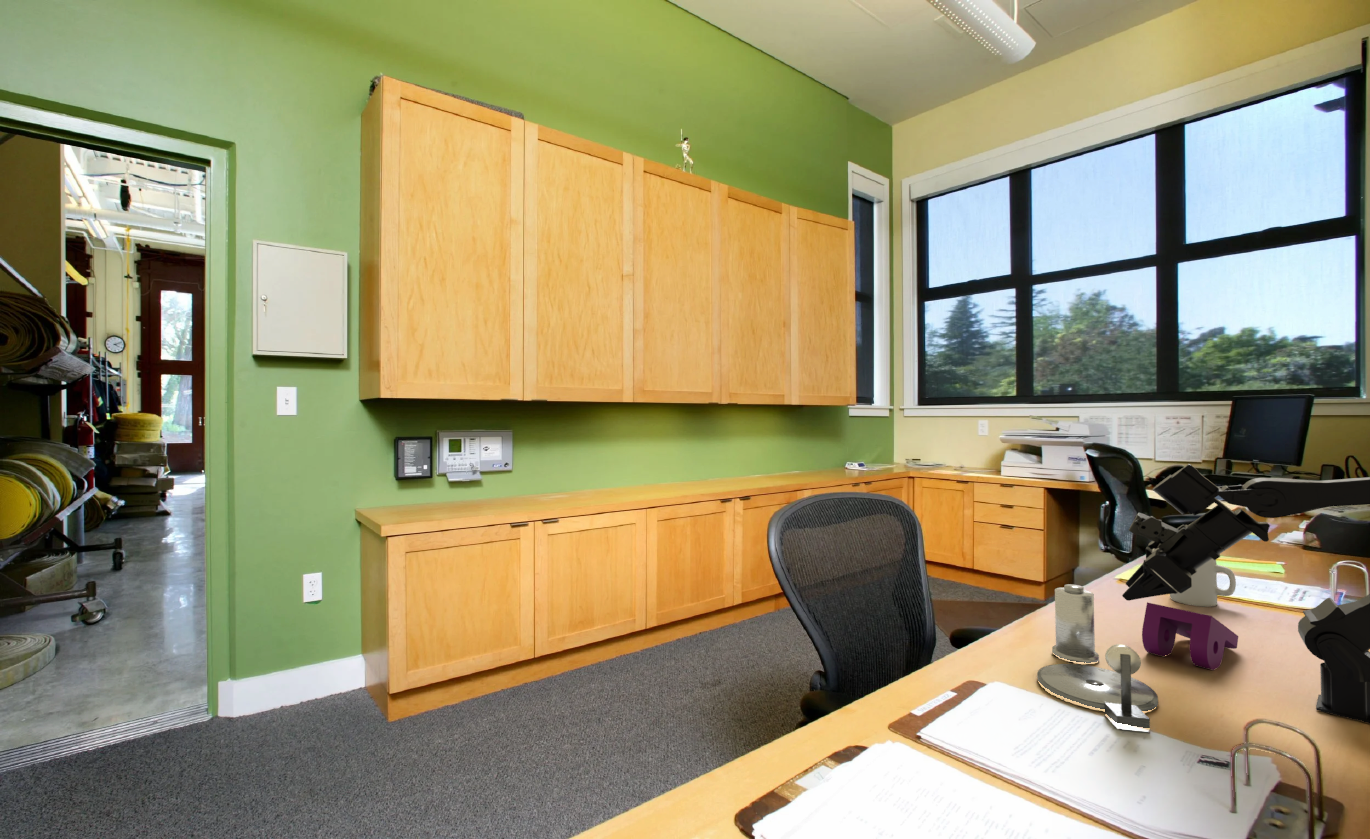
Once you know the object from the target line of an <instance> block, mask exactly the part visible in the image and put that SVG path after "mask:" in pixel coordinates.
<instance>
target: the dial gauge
mask: <svg viewBox="0 0 1370 839" xmlns="http://www.w3.org/2000/svg"><path fill="white" fill-rule="evenodd" d="M1104 656H1105V661H1106V663H1107V665H1108V667H1110V668H1111V669H1112V671H1115V672H1117V673H1119V674H1121V704H1115V703H1105V713H1106V714H1107V715H1108V716H1109V717H1110V718H1112V719H1113V720H1114V721H1115V722H1117V723H1122V724H1128V725H1131V726H1137V727H1143V728H1150V729H1151V720H1150V719H1151V718H1149V716H1147V715H1146V714H1144V713H1143V712H1142V711H1141V710H1140V709H1139V708H1138V707H1137V706H1136V705H1132V700H1131V677H1132V675H1134V674H1136V673H1137V672H1138V671H1139V670H1140V668H1141V666H1142V659H1141V657H1140V655H1139V653H1137V651H1135V650H1134V649H1132V647H1130V646H1129V645H1127V644H1122V643H1120V644H1117V643H1116V644H1113V645H1111V646H1110V647H1109V648H1108V649H1107V650H1106V652H1105V655H1104ZM1105 713H1104V714H1105Z"/></svg>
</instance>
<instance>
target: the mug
mask: <svg viewBox="0 0 1370 839" xmlns="http://www.w3.org/2000/svg"><path fill="white" fill-rule="evenodd" d="M1218 573H1223V574H1225V575H1227V577H1228V579H1229V586H1228V587H1227V589H1224V588H1223V589H1222V588H1220V587H1218V583H1217V582H1218V580H1217V578H1218V577H1217V574H1218ZM1235 576H1236V575H1235V572H1234V571H1233V570H1232V569H1231V568H1229V567H1226V566H1224V565H1221V564H1220V565H1219V564H1217V559H1216V560H1214V559H1211V560H1210V561H1208V562H1207V563H1205V564H1204V565H1202V566H1201V567H1199V568H1198V569H1197V572H1196V573H1194V574H1193V575H1191V578H1192V587H1191V588H1189V589H1187V590H1186V591H1184V592H1183V593H1179V592H1178V593H1176V594H1174V593H1173V594H1169V598H1170V600H1171V601H1174V602H1176V603H1179V604H1183V605H1187V606H1194V607H1202V608H1203V607H1204V608H1205V607H1208V608H1209V607H1211V608H1212V607H1216V606H1217V605H1218V597H1219V596H1221V597H1230V596H1232V595H1233V594H1234V593H1235V592H1236V586H1237V582H1236V579H1237V578H1236V577H1235Z"/></svg>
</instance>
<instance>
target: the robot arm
mask: <svg viewBox="0 0 1370 839" xmlns="http://www.w3.org/2000/svg"><path fill="white" fill-rule="evenodd" d="M1152 491H1153V492H1155V493H1156V494H1157V495H1158V496H1159V497H1160V498H1161V499H1163V500H1164V501H1166V503H1168V504H1169V505H1171V506H1172V507H1173V508H1174V509H1175V510H1176V511H1178V512H1179V513H1180V514H1181V515H1185V514H1187V513H1189V514H1190V515H1193V516H1197V515H1199V514H1200V513H1201V512H1204V511H1205V510H1206V509H1207V508H1209V507H1210V506H1212V505H1213V504H1216V505H1215V506H1214V507H1212V508H1211V509H1210V510H1208V511H1207V512H1205V513H1204V514H1203V515H1201V516H1200V517H1198V518H1197V519H1196V520H1194V521H1192V522H1191V523H1190V524H1182V525H1180V526H1178V527H1177V528H1176V527H1174V526H1172V525H1169V524H1167V523H1165V522H1163V521H1162V519H1157V518H1156V517H1154V516H1153V515H1150V516H1149V515H1147V514H1144V513H1142V512H1138V513H1137V514H1136V516H1135V518H1134V519H1133V520H1132V522H1131V524H1130V526H1129V527H1128V531H1129V532H1130V533H1132V534H1134V535H1137V536H1142V537H1143V538H1146V539H1147V540H1150V542H1149V543H1148V545H1147V546H1146V548H1145V559H1143V561H1142V562H1143V563H1142V564H1141V565H1140V566H1139V567H1138V568H1137V569H1136V570H1135V572H1134V573H1133V574H1132V575H1131V576H1130V577H1128V579H1127V581H1126V582H1125V585H1126V587H1128V588H1127V589H1126V591H1124V593H1122V595H1121V596H1122V597H1123V599H1125V600H1126V601H1128V602H1129V601H1134V600H1139V599H1147V598H1151V597H1157V596H1158V597H1159V596H1166V595H1170V594H1173V593H1174V594H1176V593H1178V592H1179V593H1183V592H1184V591H1186V590H1187V589H1189V588H1191V587H1192V578H1191V575H1193V574H1194V573H1196V572H1197V569H1198V568H1199V567H1201V566H1202V565H1204V564H1205V563H1207V562H1208V561H1210V560H1211V559H1214V560H1216V561H1217V559H1219V558H1220V557H1221V554H1222V553H1223V552H1225V551H1227V550H1228V549H1229V548H1231V547H1232V546H1234V545H1235V544H1237V543H1239V542H1240V541H1242V540H1243V539H1246V537H1247V536H1248V537H1249V535H1250V534H1254V535H1255V536H1256V537H1257V538H1259V539H1260V540H1261V541H1262V542H1269V540H1270V538H1269V528H1270V526H1271V525H1270V523H1268V522H1266V521H1263V522H1261V521H1258V520H1256V519H1255V518H1253V517H1252V516H1251V515H1250V514H1248V513H1247V512H1246V511H1245V510H1243V509H1242V508H1239V509H1237V510H1234V511H1233V510H1232V509H1231V508H1230V507H1228V506H1227V505H1226V504H1224V503H1223V502H1222V501H1220V500H1219V499H1218V498H1216V497H1220V498H1221V499H1222V500H1224V501H1225V502H1227V503H1228V504H1229V505H1234V506H1238V507H1243V508H1247V510H1248V511H1249V512H1251V513H1253V514H1254V515H1256V516H1258V517H1259V518H1260V517H1261V518H1266V519H1276V518H1277V519H1278V518H1281V517H1287V516H1293V515H1300V514H1303V513H1307V512H1308V513H1309V512H1311V511H1316V510H1319V509H1324V508H1331V507H1347V506H1349V507H1350V506H1361V505H1362V506H1364V505H1370V476H1369V477H1368V476H1366V477H1354V478H1342V479H1341V478H1340V479H1326V480H1310V479H1308V480H1307V479H1298V478H1297V479H1295V478H1282V477H1281V478H1280V477H1279V478H1276V477H1256V478H1252V479H1250V480H1248V481H1246V482H1245V483H1244V484H1242V485H1240V484H1238V485H1226V484H1225V485H1222V486H1217V485H1216V484H1214V482H1212V481H1210V480H1209V479H1208V478H1207V477H1205V476H1204V475H1203V474H1201V472H1199V470H1198V469H1197V468H1196V467H1195V466H1193V465H1192V464H1190V463H1188V464H1186V465H1185V466H1184V467H1182V468H1180V469H1179V470H1177V471H1176V472H1174V473H1173V474H1169V475H1168V476H1167V477H1166V478H1164V479H1163V480H1162V481H1160V482H1159V483H1158V484H1157V485H1155V486H1154V487H1153V488H1152ZM1302 613H1303V615H1304V616H1302V617H1301V619H1299V621H1298V623H1297V632H1298V634H1299V636H1300V638H1301V640H1302V642H1303V643H1304V645H1305V647H1306V649H1307V650H1308V651H1309V652H1310V653H1311V654H1312V655H1313V656H1314V657H1316V658H1318V659H1319V660H1322V661H1324V662H1321V663H1320V664H1319V667H1320V672H1319V673H1320V694H1318V695H1317V700H1316V704H1315V709H1316V711H1319V712H1321V713H1325V714H1330V715H1334V716H1338V717H1342V718H1346V719H1350V720H1352V721H1353V720H1354V721H1359V722H1362V723H1366V724H1370V651H1369V650H1370V593H1369V594H1367V595H1365V596H1364V597H1362V598H1360V599H1357V600H1356V601H1355V600H1354V601H1352V602H1348V603H1343V604H1337V603H1336V602H1335V601H1334V599H1332V598H1331V597H1327V598H1326V599H1324V600H1323V601H1321V602H1320V603H1319V604H1318V605H1316V606H1315V607H1313V608H1311V609H1304V610H1302Z"/></svg>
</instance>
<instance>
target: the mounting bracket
mask: <svg viewBox="0 0 1370 839" xmlns="http://www.w3.org/2000/svg"><path fill="white" fill-rule="evenodd" d="M1141 630H1142V631H1141V640H1142V644H1143V648H1144V650H1145V652H1146V653H1148V654H1151V653H1152V655H1155V654H1156V656H1159V657H1162V656H1165V655H1167V656H1169V655H1171V654H1172V652H1173V649H1174V647H1175V643H1176V638H1177V635H1179V636H1182V637H1184V638H1187V639H1189V656H1190V660H1191V662H1192V664H1193V665H1194V666H1195V667H1199V666H1200V668H1203V669H1207V670H1210V671H1215V670H1217V669H1218V668H1220V666H1221V665H1222V664H1221V663H1222V662H1223V657H1224V652H1225V649H1230V650H1231V649H1234V650H1235V649H1237V648H1238V642H1239V635H1238V634H1236V633H1235V632H1234V631H1232V630H1231V629H1229V628H1228V627H1227V626H1225V625H1224V624H1223V623H1222V622H1221V621H1219V620H1217V619H1216V618H1215V617H1213V616H1212V615H1210V614H1209V615H1208V614H1204V613H1200V612H1194V611H1189V610H1185V609H1181V608H1180V609H1179V608H1175V607H1171V606H1167V605H1161V604H1156V603H1151V602H1148V601H1147V602H1146V606H1145V612H1144V617H1143V623H1142V629H1141ZM1170 653H1171V654H1170ZM1168 654H1169V655H1168ZM1165 657H1166V656H1165Z"/></svg>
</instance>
